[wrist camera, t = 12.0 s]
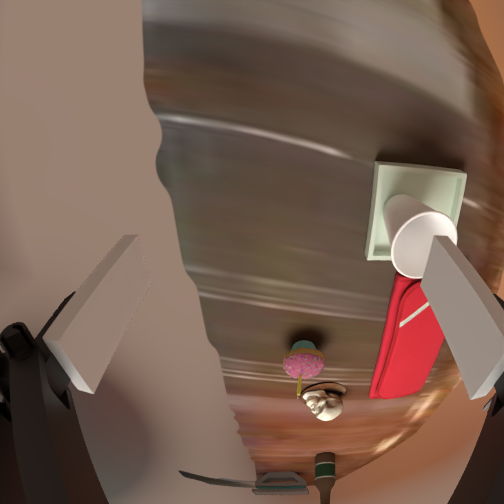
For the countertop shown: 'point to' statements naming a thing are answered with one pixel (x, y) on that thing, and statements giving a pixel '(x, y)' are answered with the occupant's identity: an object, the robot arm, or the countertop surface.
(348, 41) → the countertop surface
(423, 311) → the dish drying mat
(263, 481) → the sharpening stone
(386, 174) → the tray
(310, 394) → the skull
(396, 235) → the cup
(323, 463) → the beer bottle
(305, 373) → the cupcake
